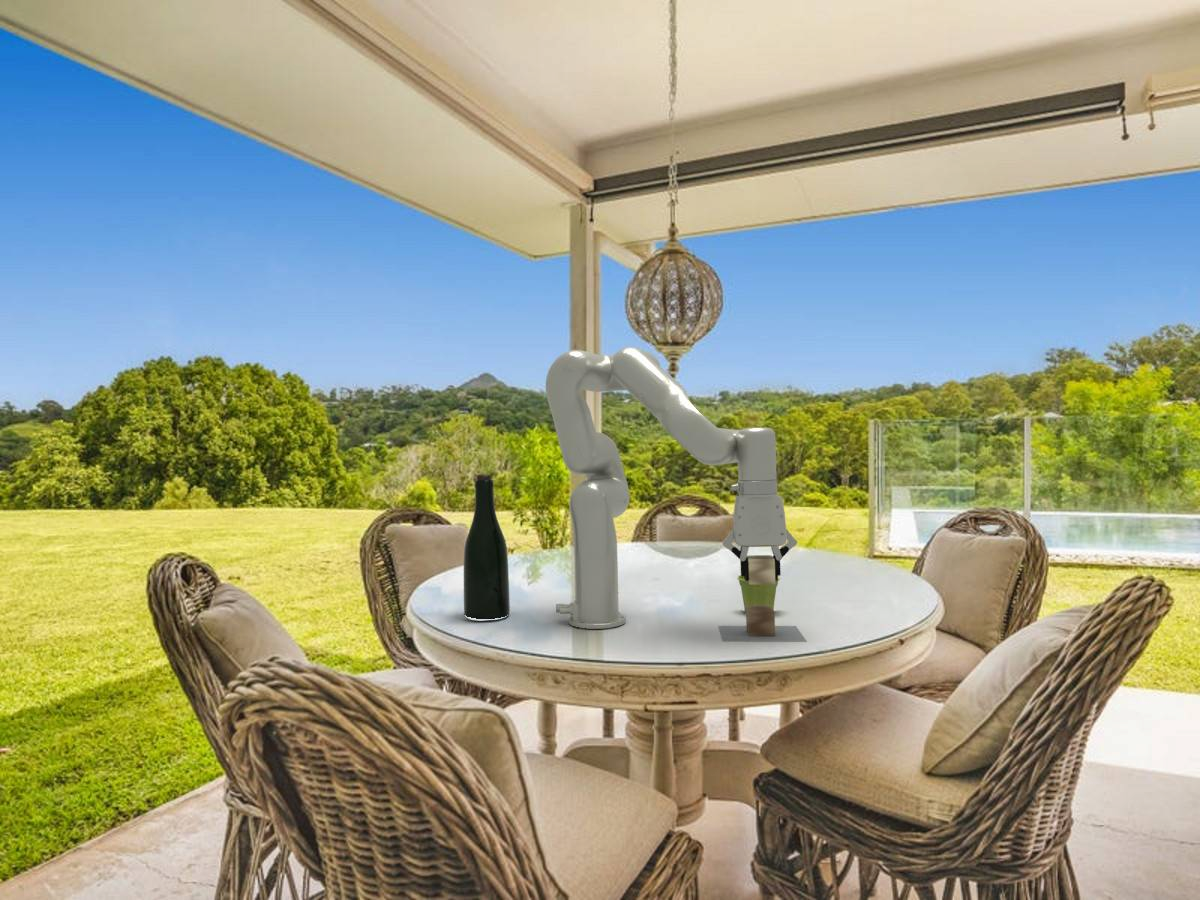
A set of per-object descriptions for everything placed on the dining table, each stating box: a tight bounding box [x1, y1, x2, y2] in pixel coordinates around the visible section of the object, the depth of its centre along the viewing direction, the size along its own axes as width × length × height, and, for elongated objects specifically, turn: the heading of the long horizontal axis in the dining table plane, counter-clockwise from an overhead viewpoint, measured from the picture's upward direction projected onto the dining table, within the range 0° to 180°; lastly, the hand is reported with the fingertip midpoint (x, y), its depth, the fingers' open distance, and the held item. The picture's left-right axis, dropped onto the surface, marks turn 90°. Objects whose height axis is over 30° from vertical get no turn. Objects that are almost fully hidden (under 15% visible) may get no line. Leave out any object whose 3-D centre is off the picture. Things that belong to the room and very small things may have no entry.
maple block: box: [747, 554, 775, 585], centre depth 144 cm, size 5×5×5 cm
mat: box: [718, 625, 808, 643], centre depth 145 cm, size 16×12×1 cm
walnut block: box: [745, 606, 776, 637], centre depth 145 cm, size 5×5×5 cm
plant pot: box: [736, 574, 781, 614], centre depth 162 cm, size 9×9×9 cm
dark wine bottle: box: [463, 473, 511, 619], centre depth 166 cm, size 10×10×33 cm
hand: (760, 578), depth 145 cm, fingers closed on maple block, 5 cm apart
